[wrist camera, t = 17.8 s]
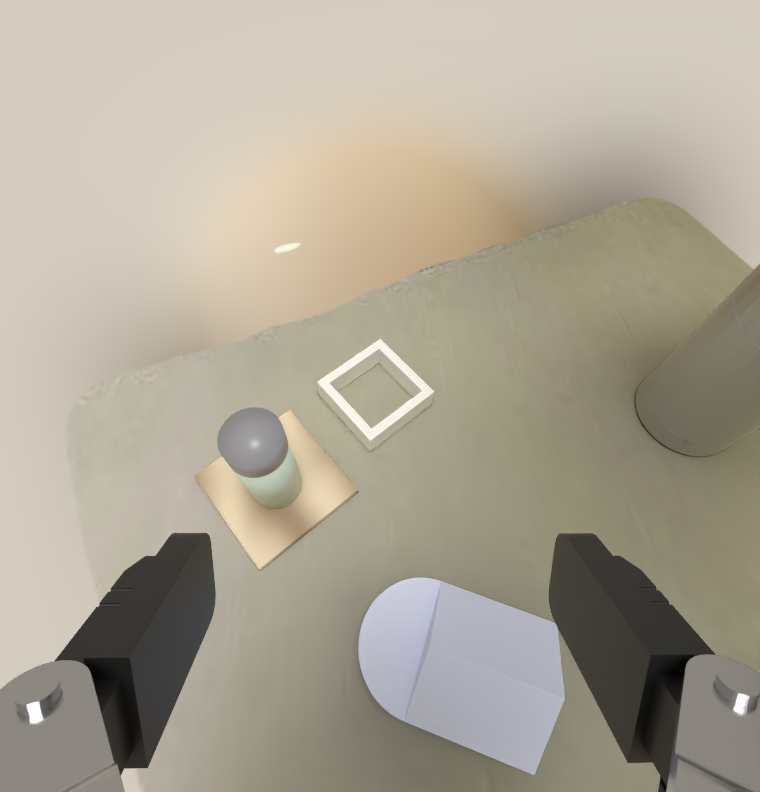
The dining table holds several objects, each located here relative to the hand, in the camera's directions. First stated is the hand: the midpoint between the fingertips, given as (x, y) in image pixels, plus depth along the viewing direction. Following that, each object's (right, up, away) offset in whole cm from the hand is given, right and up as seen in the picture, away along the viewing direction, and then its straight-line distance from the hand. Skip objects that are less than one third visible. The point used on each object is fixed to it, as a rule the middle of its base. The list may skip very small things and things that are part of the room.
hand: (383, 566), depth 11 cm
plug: (-9, -4, +30) cm, 31 cm away
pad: (-9, -4, +30) cm, 32 cm away
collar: (-1, +4, +35) cm, 35 cm away
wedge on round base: (+5, -16, +25) cm, 30 cm away
